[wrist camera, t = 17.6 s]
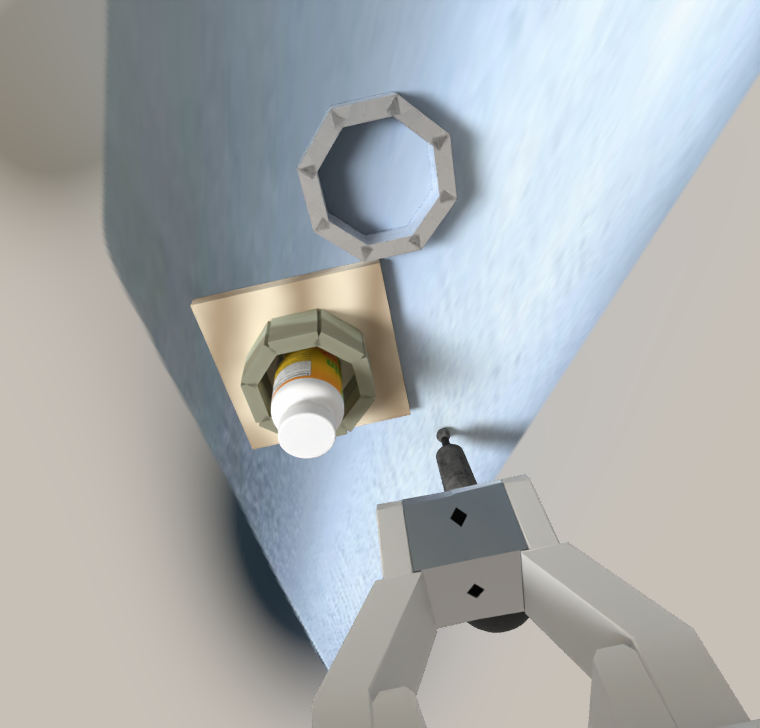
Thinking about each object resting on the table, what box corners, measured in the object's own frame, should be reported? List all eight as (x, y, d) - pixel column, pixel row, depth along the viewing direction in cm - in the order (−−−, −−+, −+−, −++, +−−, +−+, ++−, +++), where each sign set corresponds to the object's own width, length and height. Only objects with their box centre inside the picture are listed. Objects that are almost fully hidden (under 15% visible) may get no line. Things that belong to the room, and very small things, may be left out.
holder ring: (436, 81, 34) (444, 82, 32) (453, 230, 40) (461, 240, 38) (285, 115, 34) (283, 119, 32) (323, 260, 40) (324, 271, 38)
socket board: (378, 257, 40) (385, 282, 36) (408, 406, 48) (417, 442, 44) (193, 299, 40) (178, 329, 36) (254, 441, 48) (247, 479, 44)
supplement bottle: (349, 379, 44) (357, 452, 36) (292, 398, 45) (286, 475, 36) (327, 327, 42) (330, 394, 33) (266, 348, 42) (253, 420, 34)
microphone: (470, 457, 52) (544, 650, 35) (404, 458, 51) (447, 657, 34) (481, 402, 49) (569, 587, 32) (410, 403, 48) (462, 594, 31)
